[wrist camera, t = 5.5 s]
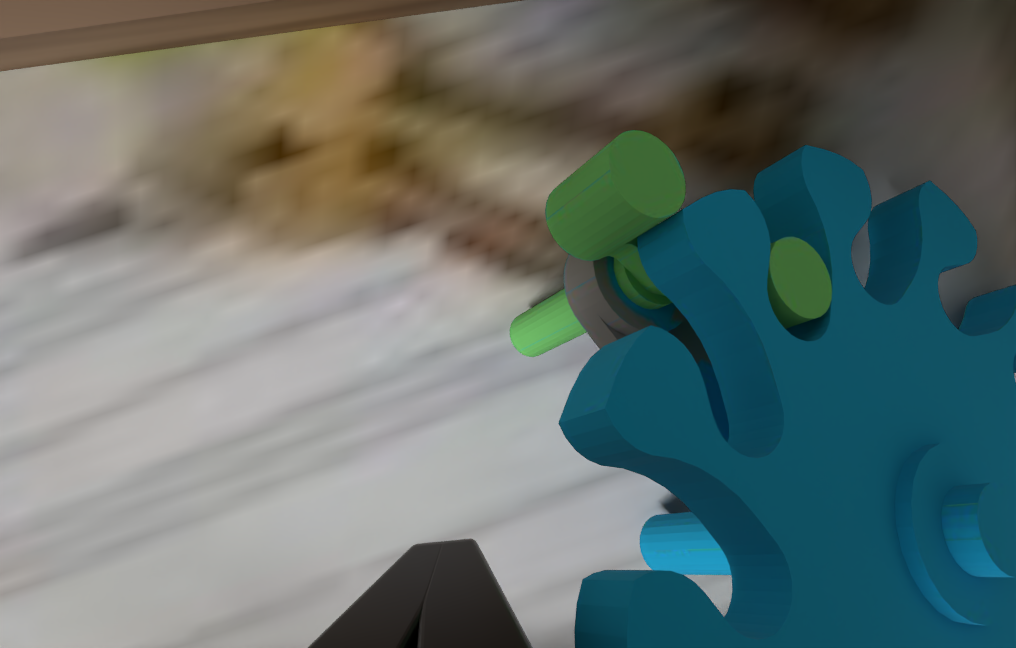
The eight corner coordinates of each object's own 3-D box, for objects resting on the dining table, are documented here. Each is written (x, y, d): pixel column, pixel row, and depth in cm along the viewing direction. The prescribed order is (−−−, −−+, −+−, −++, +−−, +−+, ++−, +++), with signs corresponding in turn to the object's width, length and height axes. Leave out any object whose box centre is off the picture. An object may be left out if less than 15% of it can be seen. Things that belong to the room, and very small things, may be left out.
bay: (1368, 709, 14) (1581, 865, 11) (9, 804, 16) (-105, 960, 13) (1638, -279, 10) (2113, -438, 7) (-324, 7, 11) (-615, -23, 8)
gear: (1276, 549, 11) (1189, 1448, 6) (915, 556, 16) (687, 1048, 11) (861, -47, 10) (308, 362, 5) (614, 151, 15) (200, 466, 10)
